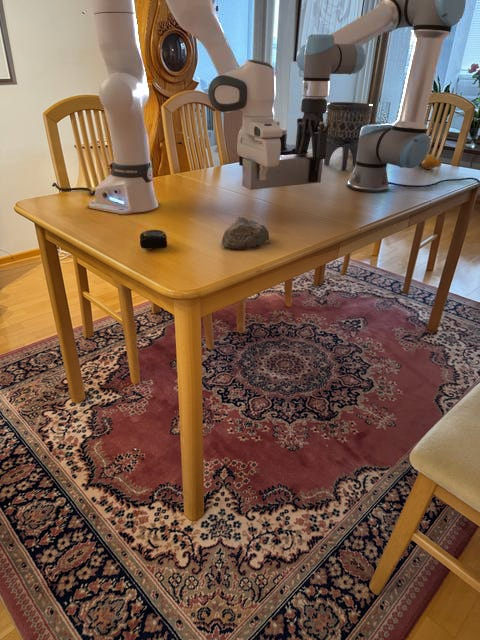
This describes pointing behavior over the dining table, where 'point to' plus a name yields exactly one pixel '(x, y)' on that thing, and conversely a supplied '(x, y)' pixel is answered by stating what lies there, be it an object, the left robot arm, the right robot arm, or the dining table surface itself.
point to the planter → (345, 128)
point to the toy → (430, 162)
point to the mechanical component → (285, 148)
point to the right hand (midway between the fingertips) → (307, 179)
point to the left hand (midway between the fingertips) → (256, 177)
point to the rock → (245, 234)
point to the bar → (280, 172)
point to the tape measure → (153, 239)
